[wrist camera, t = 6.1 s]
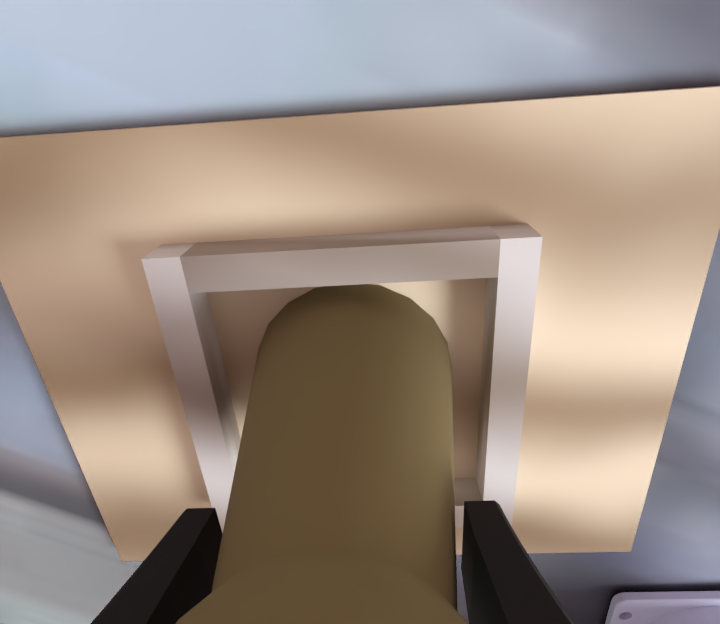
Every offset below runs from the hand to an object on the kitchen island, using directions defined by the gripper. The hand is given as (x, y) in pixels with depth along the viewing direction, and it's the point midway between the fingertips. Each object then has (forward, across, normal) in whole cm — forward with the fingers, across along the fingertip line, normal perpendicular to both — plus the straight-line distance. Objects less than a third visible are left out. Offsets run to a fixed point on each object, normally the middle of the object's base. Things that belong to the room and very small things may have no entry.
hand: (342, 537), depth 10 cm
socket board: (+6, 0, 0) cm, 6 cm away
